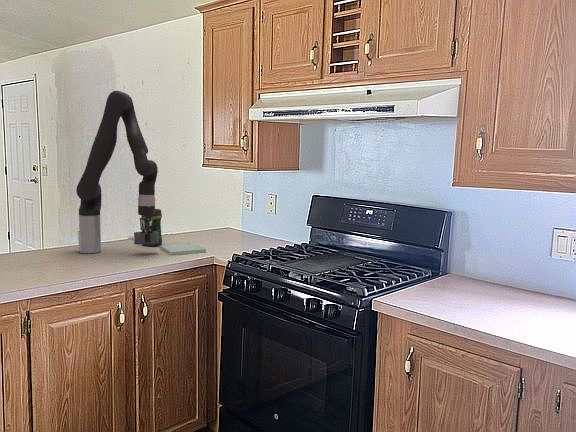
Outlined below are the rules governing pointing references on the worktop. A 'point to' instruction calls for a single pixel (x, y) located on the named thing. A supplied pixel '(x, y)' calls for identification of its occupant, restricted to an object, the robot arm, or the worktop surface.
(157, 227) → the coffee jar
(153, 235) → the connector
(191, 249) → the cutting board
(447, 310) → the worktop surface
